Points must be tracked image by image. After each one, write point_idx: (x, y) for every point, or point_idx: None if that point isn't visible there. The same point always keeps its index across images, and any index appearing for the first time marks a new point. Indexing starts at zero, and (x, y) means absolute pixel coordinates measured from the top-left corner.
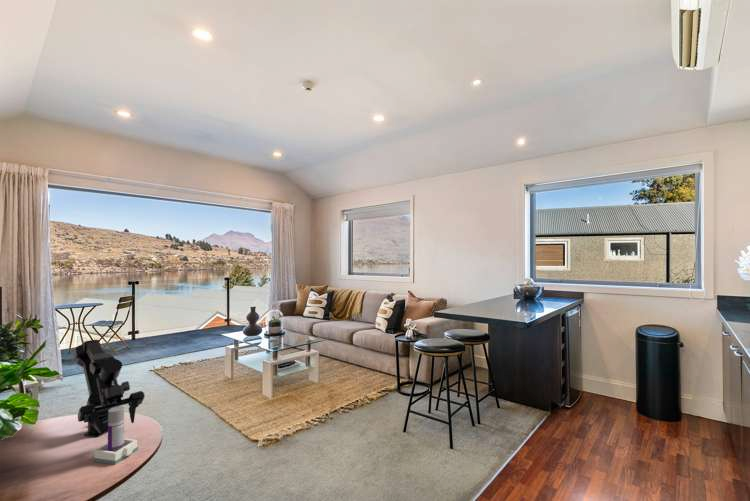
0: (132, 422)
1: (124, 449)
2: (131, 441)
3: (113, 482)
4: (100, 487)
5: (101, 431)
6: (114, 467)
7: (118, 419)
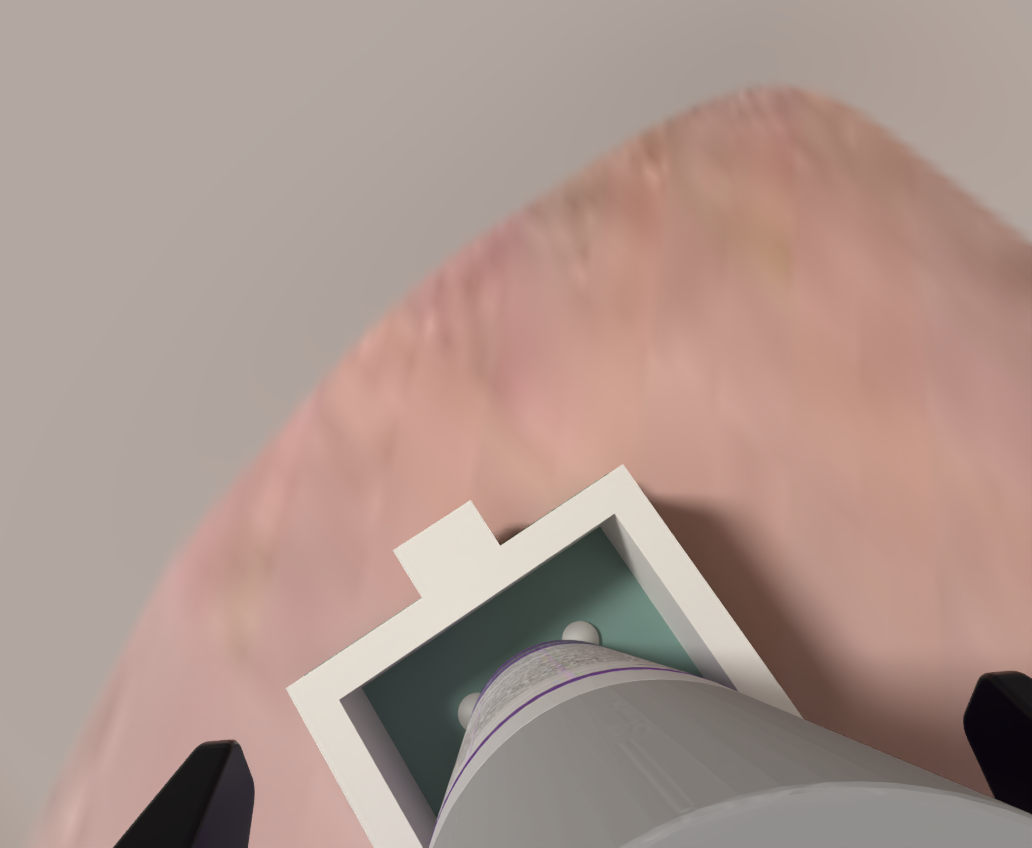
0: (241, 749)
1: (497, 542)
2: (363, 736)
3: (662, 139)
4: (764, 139)
5: (1006, 673)
6: (620, 418)
7: (645, 697)
